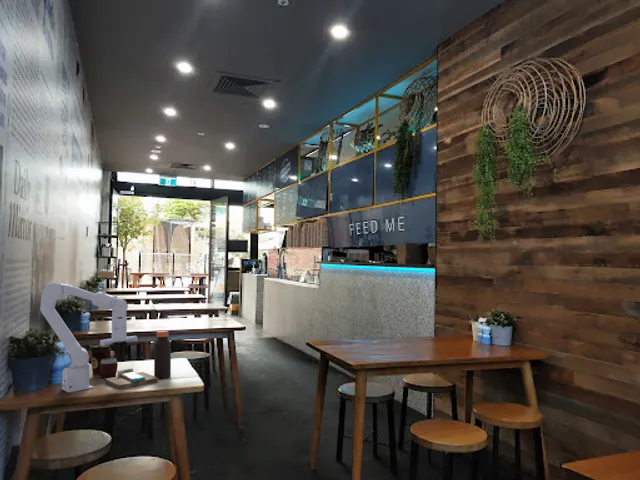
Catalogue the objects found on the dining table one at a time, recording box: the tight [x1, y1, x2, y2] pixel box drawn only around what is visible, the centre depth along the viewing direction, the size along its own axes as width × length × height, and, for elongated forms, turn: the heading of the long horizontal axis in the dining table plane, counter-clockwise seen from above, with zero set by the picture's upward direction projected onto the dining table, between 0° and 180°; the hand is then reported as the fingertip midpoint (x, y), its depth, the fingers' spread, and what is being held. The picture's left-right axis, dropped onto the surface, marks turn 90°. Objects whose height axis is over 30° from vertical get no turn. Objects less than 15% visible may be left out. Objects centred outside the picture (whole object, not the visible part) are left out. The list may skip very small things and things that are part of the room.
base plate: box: [104, 367, 159, 391], centre depth 201 cm, size 16×14×4 cm
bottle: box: [153, 329, 172, 380], centre depth 209 cm, size 7×7×20 cm
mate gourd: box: [100, 350, 119, 379], centre depth 210 cm, size 8×8×15 cm
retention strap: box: [121, 371, 145, 382], centre depth 200 cm, size 5×12×1 cm, turn 45°
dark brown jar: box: [89, 344, 113, 378], centre depth 213 cm, size 9×8×13 cm
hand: (118, 360), depth 200 cm, fingers closed
